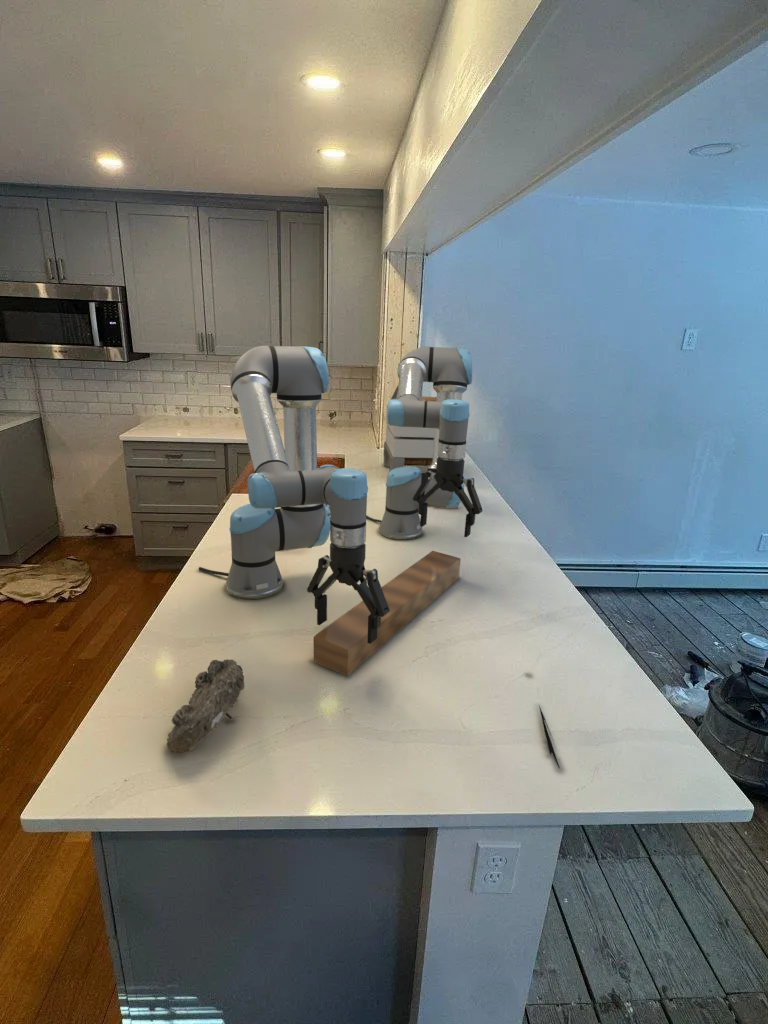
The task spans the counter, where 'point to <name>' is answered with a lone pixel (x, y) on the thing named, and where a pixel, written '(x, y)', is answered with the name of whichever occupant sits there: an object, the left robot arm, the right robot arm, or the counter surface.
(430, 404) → the right robot arm
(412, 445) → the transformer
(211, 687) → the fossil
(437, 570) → the wooden beam
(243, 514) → the left robot arm
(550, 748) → the feather
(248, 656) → the counter surface
